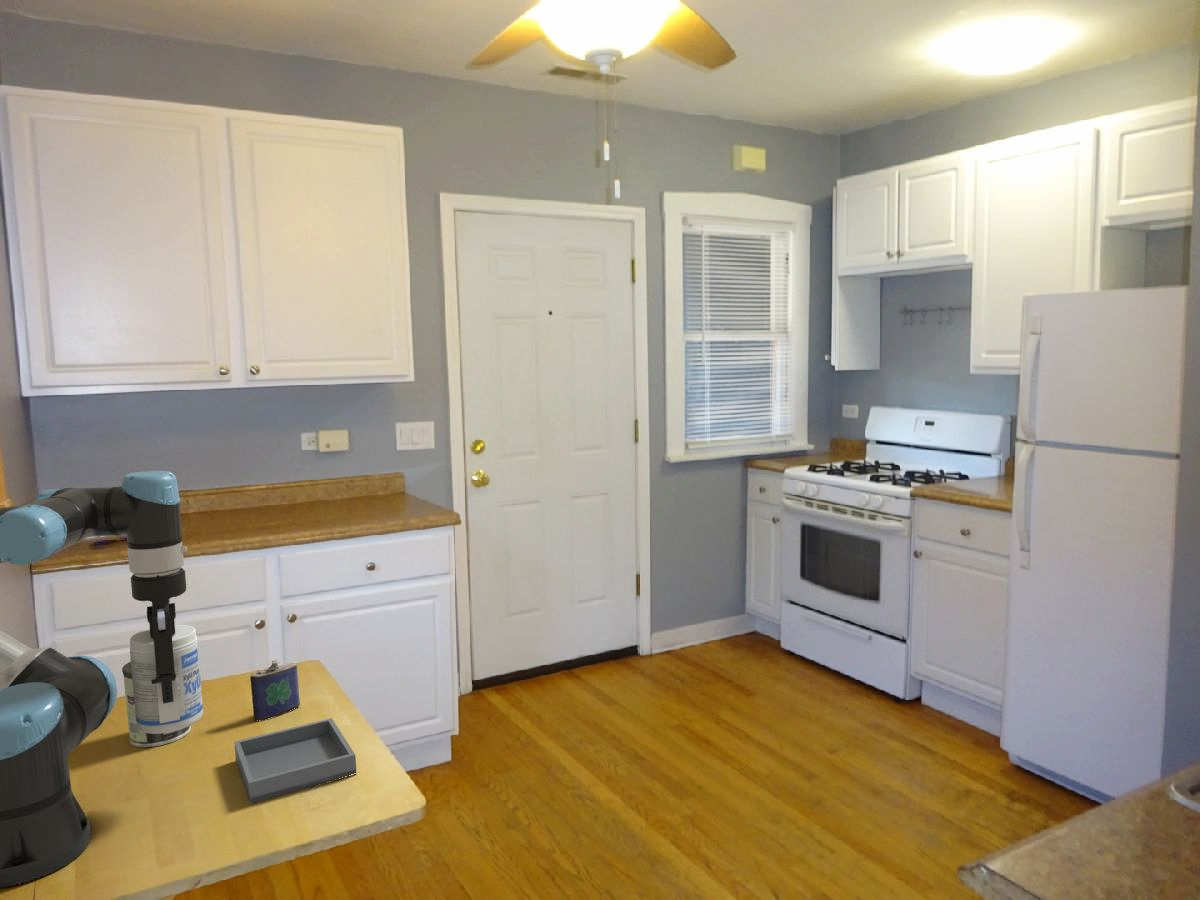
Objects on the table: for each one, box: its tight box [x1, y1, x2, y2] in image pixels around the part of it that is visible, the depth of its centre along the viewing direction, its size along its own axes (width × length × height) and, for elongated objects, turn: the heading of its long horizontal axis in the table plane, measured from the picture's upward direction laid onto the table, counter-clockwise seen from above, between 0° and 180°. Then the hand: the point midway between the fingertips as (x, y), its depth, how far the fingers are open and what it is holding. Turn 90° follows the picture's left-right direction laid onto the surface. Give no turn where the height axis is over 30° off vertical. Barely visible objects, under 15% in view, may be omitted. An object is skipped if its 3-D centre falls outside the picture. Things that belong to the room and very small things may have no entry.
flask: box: [249, 659, 301, 722], centre depth 163 cm, size 9×3×11 cm, turn 136°
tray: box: [234, 717, 357, 805], centre depth 142 cm, size 17×17×4 cm
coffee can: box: [121, 661, 192, 748], centre depth 155 cm, size 10×10×14 cm
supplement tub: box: [129, 624, 204, 734], centre depth 132 cm, size 10×10×15 cm
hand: (169, 708), depth 132 cm, fingers closed on supplement tub, 10 cm apart
